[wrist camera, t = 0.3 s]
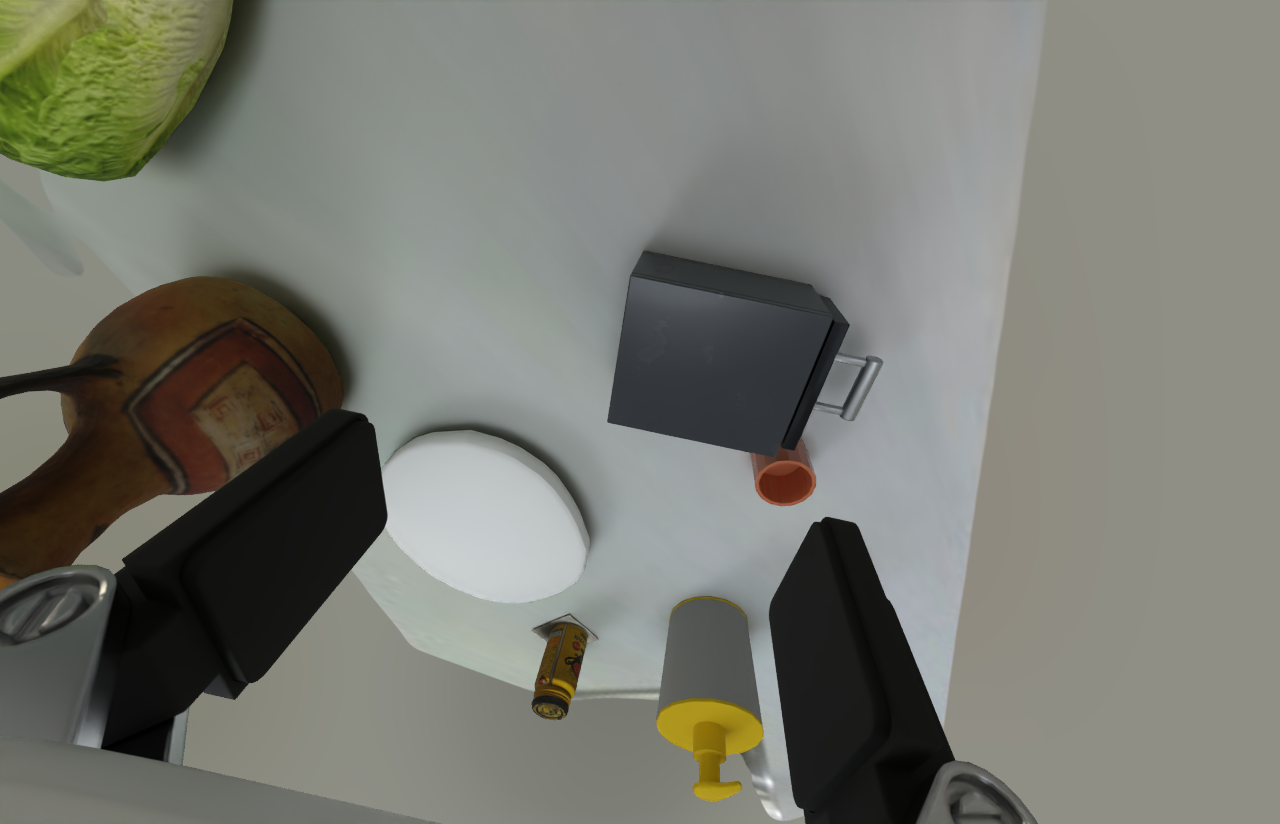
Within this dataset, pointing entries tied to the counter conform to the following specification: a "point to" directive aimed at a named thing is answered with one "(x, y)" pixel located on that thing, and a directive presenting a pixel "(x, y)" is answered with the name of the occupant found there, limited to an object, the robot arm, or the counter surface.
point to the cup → (784, 476)
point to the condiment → (559, 666)
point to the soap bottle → (709, 689)
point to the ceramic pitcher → (162, 412)
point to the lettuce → (102, 79)
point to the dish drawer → (820, 374)
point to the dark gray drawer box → (715, 353)
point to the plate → (484, 517)
